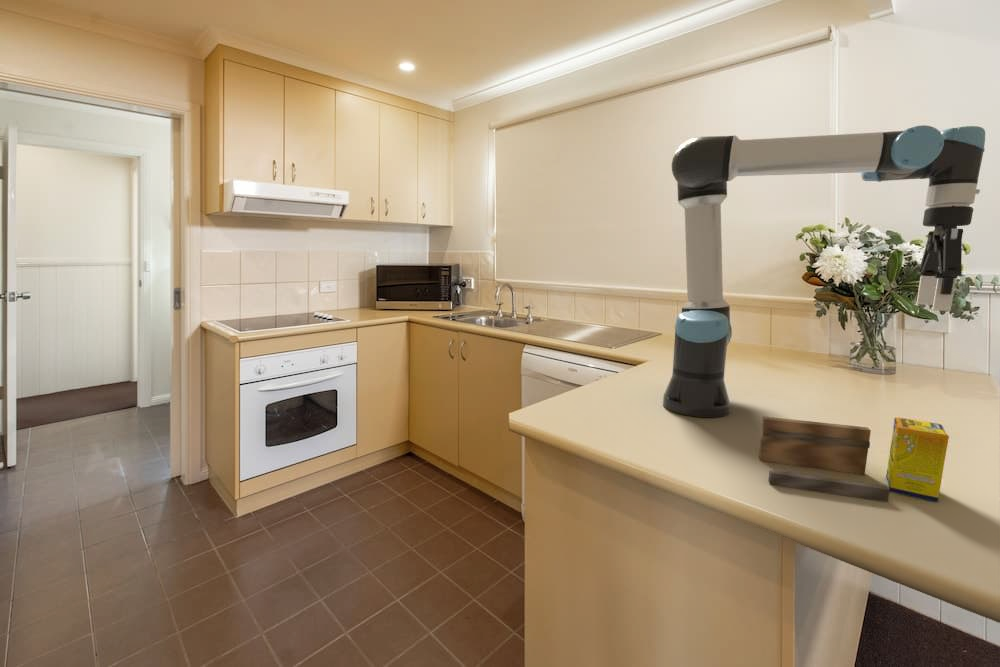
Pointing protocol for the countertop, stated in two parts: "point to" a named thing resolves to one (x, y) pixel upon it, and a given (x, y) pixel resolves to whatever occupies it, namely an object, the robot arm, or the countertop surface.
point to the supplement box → (917, 458)
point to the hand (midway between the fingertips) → (932, 307)
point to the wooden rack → (818, 455)
